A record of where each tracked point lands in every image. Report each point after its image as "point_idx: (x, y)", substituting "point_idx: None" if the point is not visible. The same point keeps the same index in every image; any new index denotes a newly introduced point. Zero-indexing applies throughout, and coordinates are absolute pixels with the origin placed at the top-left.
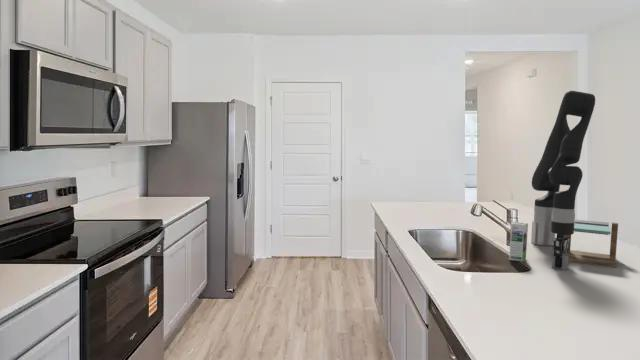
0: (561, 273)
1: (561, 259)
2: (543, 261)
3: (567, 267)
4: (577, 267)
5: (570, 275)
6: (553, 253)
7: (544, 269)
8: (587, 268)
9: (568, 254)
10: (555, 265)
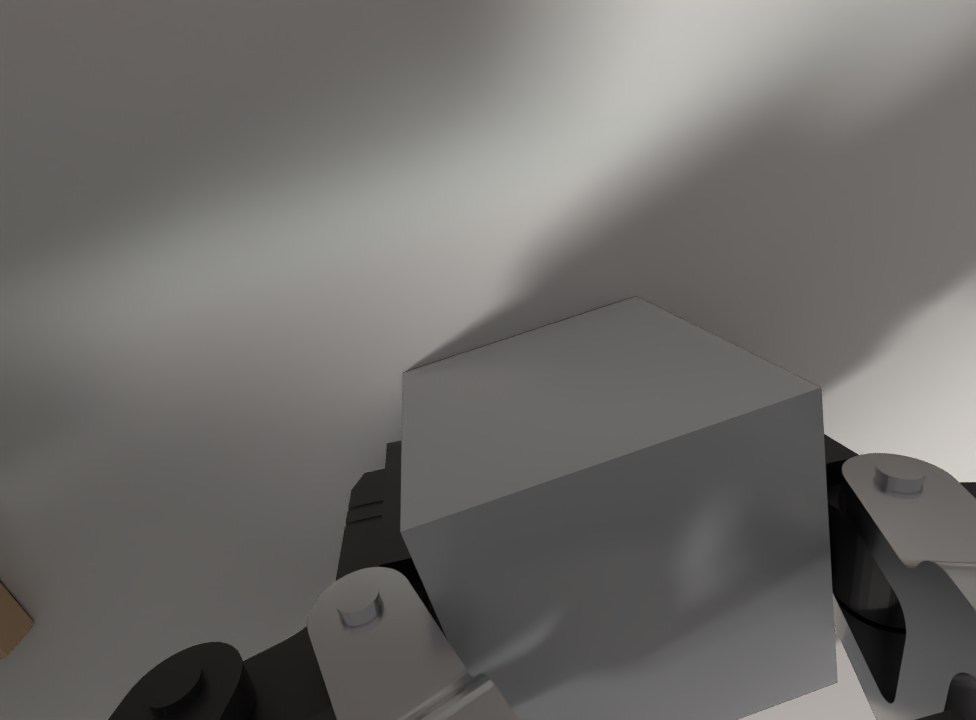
0: (922, 261)
1: None
2: None
3: (555, 330)
4: (286, 240)
5: (971, 110)
6: (740, 710)
7: None
8: (165, 52)
9: (561, 477)
10: None
